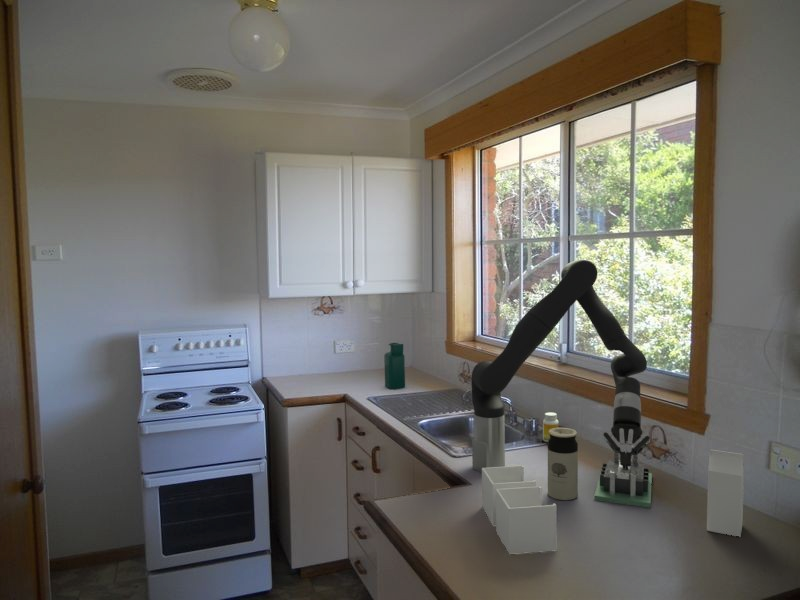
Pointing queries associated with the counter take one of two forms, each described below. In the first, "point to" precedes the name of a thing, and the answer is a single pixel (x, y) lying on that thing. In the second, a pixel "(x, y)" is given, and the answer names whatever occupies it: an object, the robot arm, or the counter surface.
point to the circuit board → (624, 496)
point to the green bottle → (395, 367)
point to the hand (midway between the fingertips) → (625, 466)
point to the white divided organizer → (518, 510)
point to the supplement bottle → (549, 424)
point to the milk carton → (725, 492)
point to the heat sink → (624, 486)
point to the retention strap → (623, 472)
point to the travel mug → (562, 464)
